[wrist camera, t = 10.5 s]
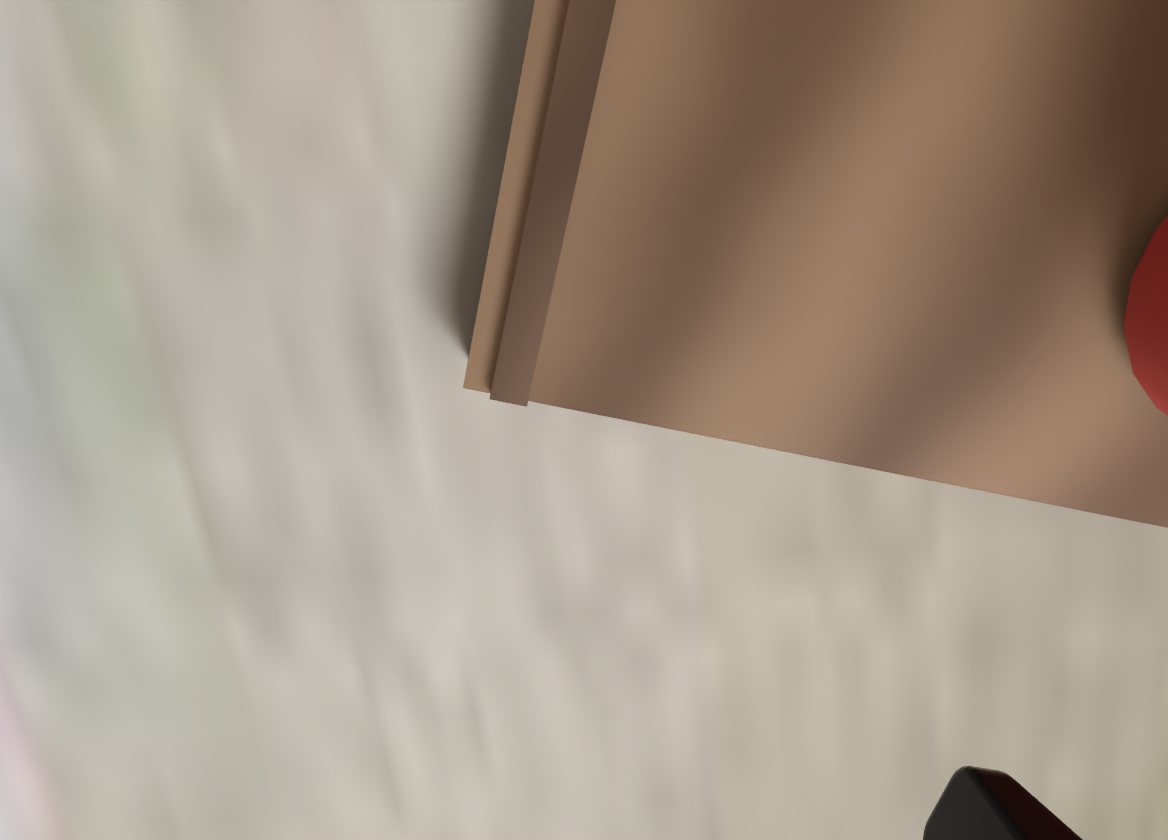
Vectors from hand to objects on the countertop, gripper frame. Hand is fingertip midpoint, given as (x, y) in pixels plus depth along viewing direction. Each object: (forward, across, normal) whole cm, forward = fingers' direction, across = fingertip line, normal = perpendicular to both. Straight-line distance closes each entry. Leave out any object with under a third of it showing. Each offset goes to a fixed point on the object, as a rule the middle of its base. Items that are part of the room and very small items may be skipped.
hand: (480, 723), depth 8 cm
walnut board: (+13, -9, -4) cm, 16 cm away
